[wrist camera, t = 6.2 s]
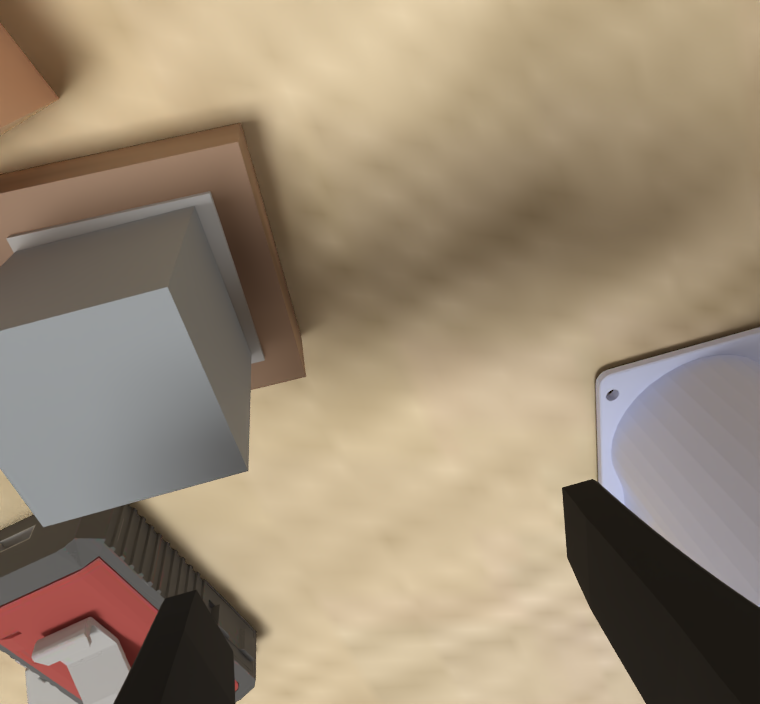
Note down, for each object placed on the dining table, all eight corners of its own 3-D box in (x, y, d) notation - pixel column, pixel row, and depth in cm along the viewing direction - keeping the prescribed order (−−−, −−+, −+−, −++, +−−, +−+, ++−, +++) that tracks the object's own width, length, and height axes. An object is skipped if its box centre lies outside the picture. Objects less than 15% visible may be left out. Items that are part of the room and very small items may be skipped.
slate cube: (194, 205, 15) (167, 287, 11) (251, 355, 17) (247, 470, 13) (15, 251, 15) (-85, 353, 10) (97, 396, 17) (43, 526, 13)
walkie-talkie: (-111, 547, 22) (190, 762, 33) (-187, 658, 19) (181, 860, 29) (93, 450, 22) (334, 701, 32) (57, 544, 18) (344, 794, 28)
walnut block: (300, 329, 21) (306, 380, 18) (98, 377, 20) (73, 436, 18) (241, 120, 17) (237, 143, 14) (-7, 173, 17) (-59, 207, 14)
